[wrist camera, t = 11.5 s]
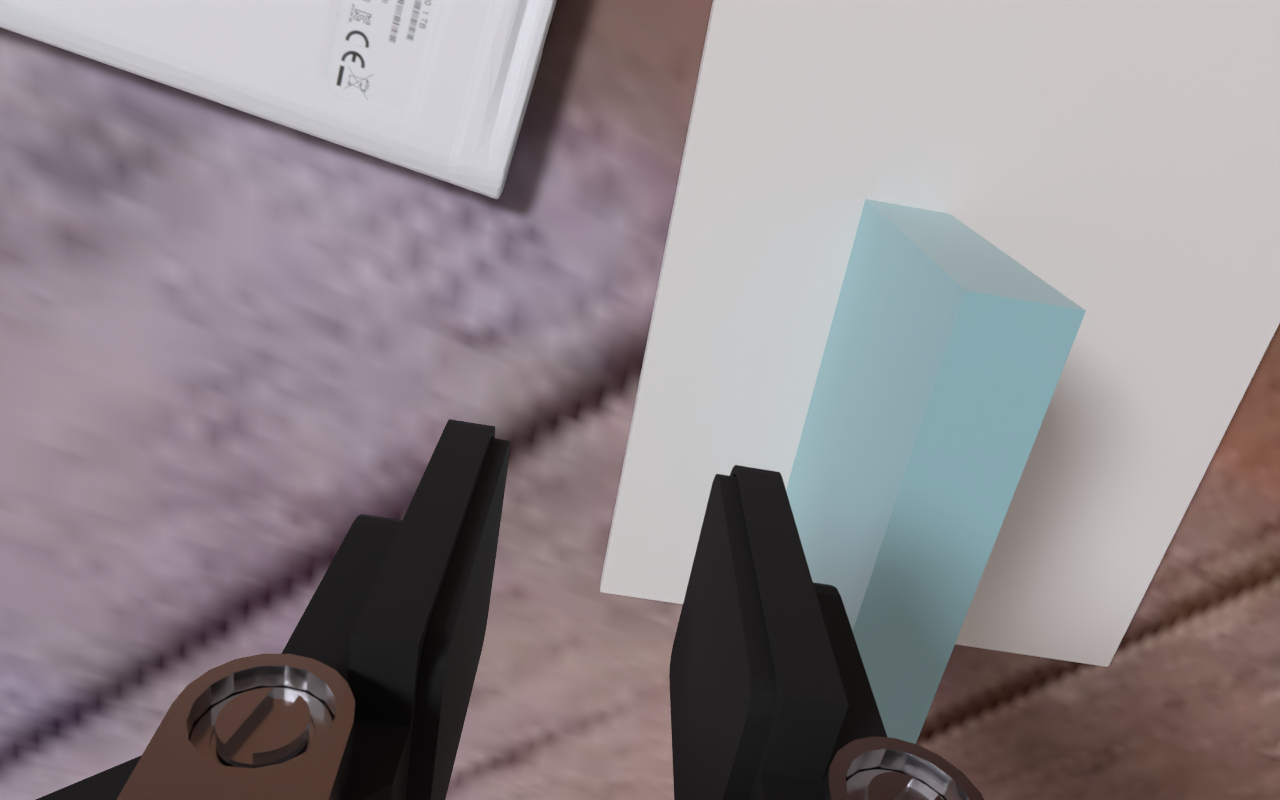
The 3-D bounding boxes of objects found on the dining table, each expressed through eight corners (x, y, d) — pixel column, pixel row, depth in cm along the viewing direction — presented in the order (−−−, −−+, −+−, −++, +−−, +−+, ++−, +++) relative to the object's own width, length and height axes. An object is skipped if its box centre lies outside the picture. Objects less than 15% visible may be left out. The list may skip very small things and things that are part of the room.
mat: (1098, 653, 27) (1108, 666, 26) (601, 579, 26) (599, 591, 25) (1416, 2, 19) (1439, 1, 19) (740, -139, 18) (742, -143, 18)
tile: (838, 569, 25) (906, 768, 18) (767, 559, 25) (810, 756, 18) (949, 213, 21) (1086, 310, 14) (865, 199, 21) (965, 290, 14)
